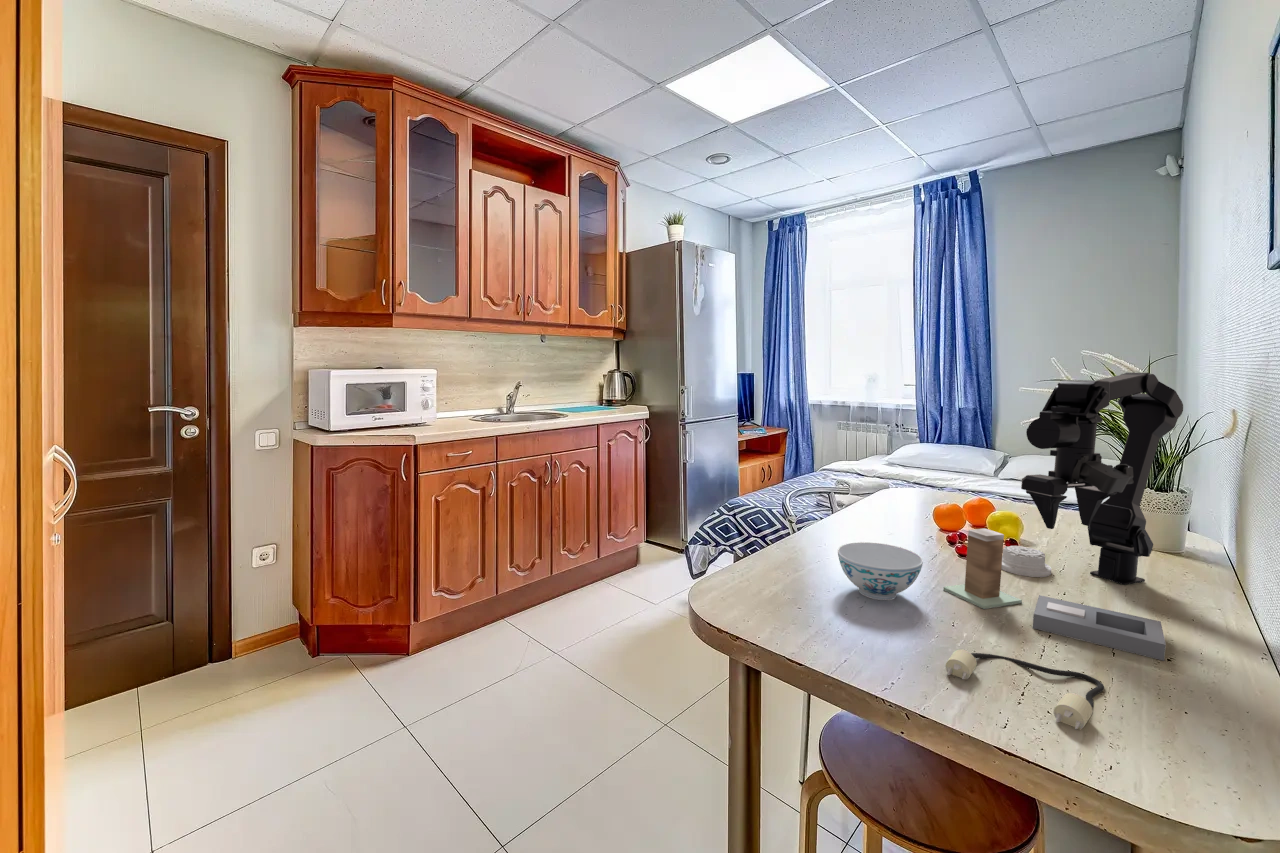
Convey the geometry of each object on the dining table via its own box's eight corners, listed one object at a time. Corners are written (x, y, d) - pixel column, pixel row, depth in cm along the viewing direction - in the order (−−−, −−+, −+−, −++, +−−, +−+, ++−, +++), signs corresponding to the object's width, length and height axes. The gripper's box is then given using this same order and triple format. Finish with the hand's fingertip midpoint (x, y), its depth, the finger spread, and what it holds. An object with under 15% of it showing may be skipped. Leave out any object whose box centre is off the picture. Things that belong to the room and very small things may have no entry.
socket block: (1038, 608, 99) (1039, 593, 99) (1159, 636, 89) (1160, 619, 89) (1032, 628, 92) (1033, 611, 91) (1164, 660, 81) (1166, 642, 81)
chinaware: (931, 592, 106) (933, 554, 105) (905, 617, 95) (907, 575, 95) (854, 572, 116) (855, 537, 116) (823, 593, 106) (824, 554, 105)
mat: (979, 584, 110) (979, 581, 110) (1021, 603, 101) (1021, 599, 101) (943, 589, 107) (943, 587, 107) (984, 609, 99) (984, 605, 99)
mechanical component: (1007, 576, 115) (1061, 580, 113) (1009, 556, 115) (1062, 559, 113) (987, 560, 125) (1036, 563, 123) (988, 541, 124) (1037, 544, 122)
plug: (981, 588, 107) (985, 528, 105) (999, 596, 103) (1003, 534, 102) (964, 590, 106) (968, 529, 104) (982, 598, 102) (986, 536, 101)
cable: (984, 644, 87) (986, 623, 87) (1117, 693, 74) (1119, 669, 74) (938, 677, 78) (940, 654, 77) (1080, 739, 65) (1083, 712, 64)
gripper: (1084, 454, 93) (1076, 543, 95) (1160, 450, 98) (1151, 535, 100) (1022, 445, 104) (1015, 526, 105) (1093, 443, 109) (1086, 519, 111)
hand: (1068, 526), depth 105 cm, fingers open, 9 cm apart
